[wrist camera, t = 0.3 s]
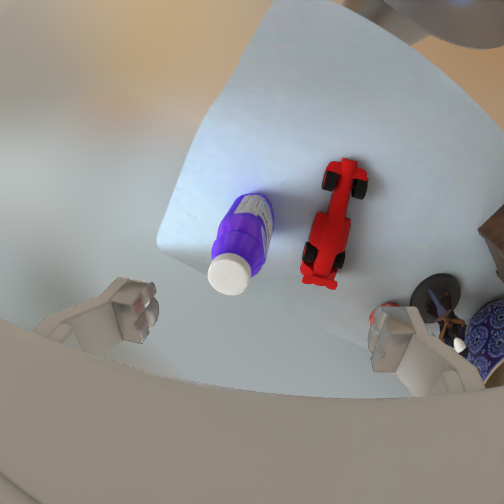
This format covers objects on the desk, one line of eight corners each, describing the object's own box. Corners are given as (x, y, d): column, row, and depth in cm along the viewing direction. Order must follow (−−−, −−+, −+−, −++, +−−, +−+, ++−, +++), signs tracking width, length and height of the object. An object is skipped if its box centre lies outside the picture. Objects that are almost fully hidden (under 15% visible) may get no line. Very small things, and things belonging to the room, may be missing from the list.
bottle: (277, 235, 44) (263, 307, 29) (240, 238, 45) (208, 308, 30) (270, 188, 41) (251, 239, 26) (231, 192, 42) (190, 244, 27)
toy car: (369, 164, 37) (378, 171, 33) (335, 273, 45) (338, 291, 41) (328, 153, 38) (332, 158, 33) (298, 265, 46) (298, 283, 41)
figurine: (446, 262, 41) (485, 318, 28) (465, 298, 43) (498, 353, 30) (400, 297, 46) (424, 361, 32) (423, 328, 48) (446, 389, 34)
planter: (526, 303, 41) (557, 347, 28) (482, 357, 49) (503, 405, 36) (490, 277, 41) (528, 327, 28) (440, 341, 49) (462, 398, 35)
